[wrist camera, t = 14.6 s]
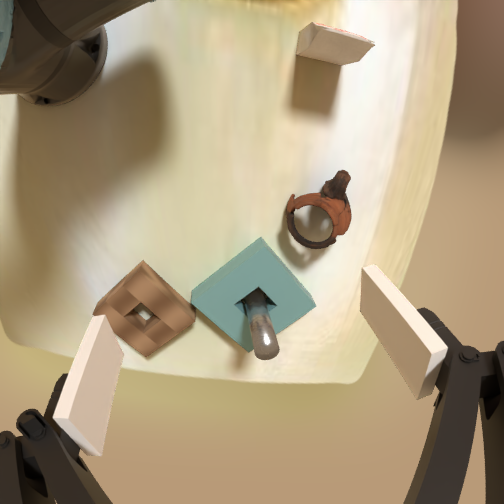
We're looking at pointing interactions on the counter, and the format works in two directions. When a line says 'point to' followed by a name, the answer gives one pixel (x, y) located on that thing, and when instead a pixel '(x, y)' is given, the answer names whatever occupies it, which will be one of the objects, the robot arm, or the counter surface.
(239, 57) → the counter surface
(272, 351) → the pin
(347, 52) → the white box
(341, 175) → the brown ring with knob
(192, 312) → the pin mount
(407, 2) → the counter surface
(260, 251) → the dock socket
